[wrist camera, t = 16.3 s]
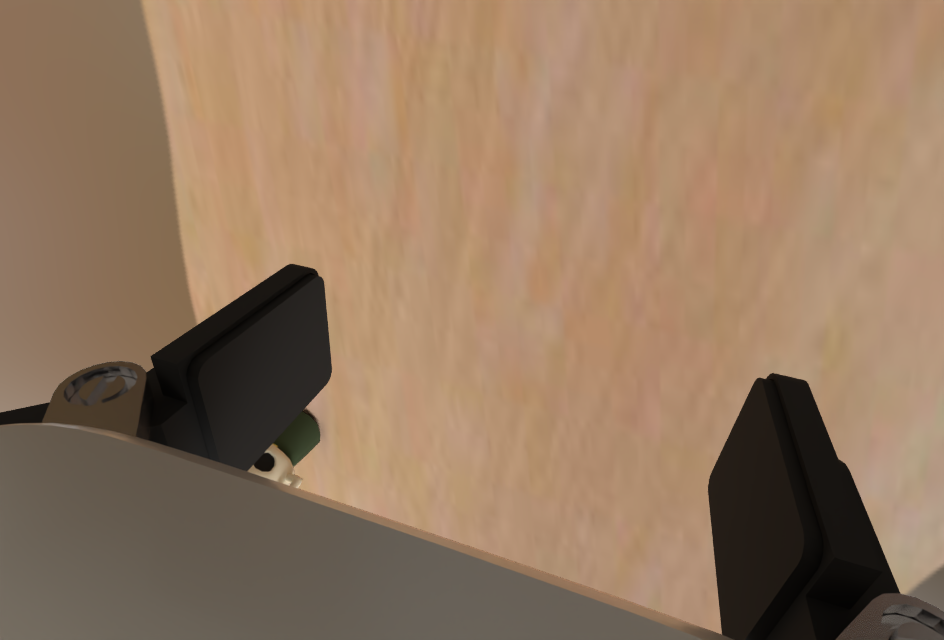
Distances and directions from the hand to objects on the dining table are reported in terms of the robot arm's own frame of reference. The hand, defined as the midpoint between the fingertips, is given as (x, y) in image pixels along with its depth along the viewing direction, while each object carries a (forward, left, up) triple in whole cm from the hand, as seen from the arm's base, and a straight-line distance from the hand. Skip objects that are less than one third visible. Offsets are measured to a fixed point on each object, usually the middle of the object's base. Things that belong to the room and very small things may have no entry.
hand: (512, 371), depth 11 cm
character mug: (+32, +43, -34) cm, 63 cm away
